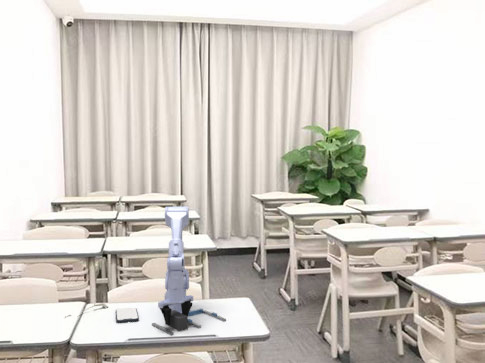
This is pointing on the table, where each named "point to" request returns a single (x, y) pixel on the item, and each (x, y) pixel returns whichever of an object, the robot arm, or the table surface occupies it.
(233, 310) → the table surface
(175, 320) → the dark grey block
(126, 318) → the phone case
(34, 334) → the table surface
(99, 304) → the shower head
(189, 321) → the silver and blue frame
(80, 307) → the table surface
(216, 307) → the table surface
